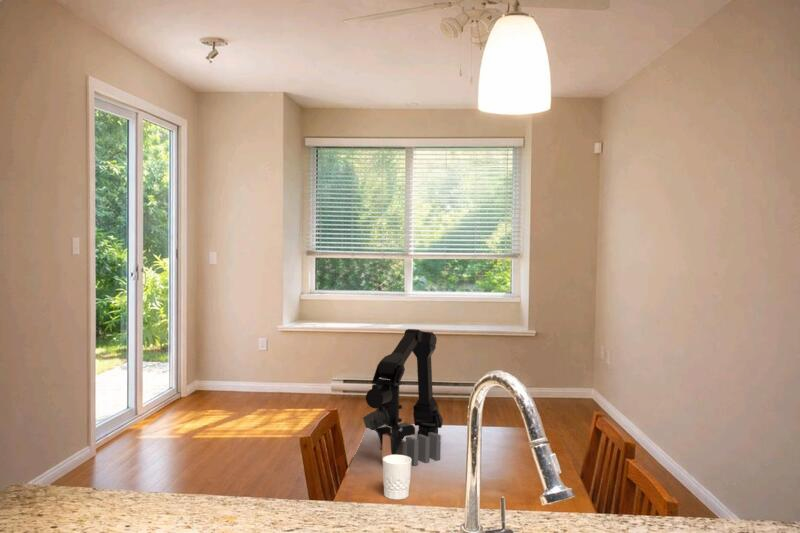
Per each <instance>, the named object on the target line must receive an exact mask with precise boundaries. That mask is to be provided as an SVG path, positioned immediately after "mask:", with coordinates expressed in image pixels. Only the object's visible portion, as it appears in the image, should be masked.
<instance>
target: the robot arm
mask: <svg viewBox="0 0 800 533" xmlns="http://www.w3.org/2000/svg"><path fill="white" fill-rule="evenodd" d="M437 340H438V339H437V336H436V334H435V333H434V332H432V331H423V330H420V329H416V328H407V329H405V331H404V335H403V336H402V337H401V339H400V340H399V342H398V344H397V345H396V347H395V348H394V350H393V351H392V352H391V353H390V354H388V355H384V357H383V358H382V359H381V360H380V361H379V362H378V364H377V366H376V368H375V372H374V375H373V378H372V380H371V383H372V385H371V389H369V390H368V391H367V392H366V394H365V401H366V404H367V406H369V407H370V408H372V409H376V410H373V411H372V412H370V413H369V414H366V415H365V416H364V417H362V418H363V423H364V426H365V429H369V430H371V431H375V432H376V433H377V436H378V440H379V442H380V447H381V446H382V445H383V434H387V435H388V436H389V437H390V440H391V453H392V455H393V454H395V453H396V451H397V449H398V447H399V445H400V443H401V441H402V440H404V438H405V437H409V436H413V435H416V427H415V426H418V429H417V435H419V434H422V435H425V436H427V437H428V433H430V432H433V433H436V434H439V429H441V428H442V427H443V424H444V422H443V421H444V420H443V417H442V415H441V413H440V411H439V406H438V402H437V401H436V400H435V399H434V396H433V375H432V374H433V372H432V355H433V354H434V352H435V350H436V346H437ZM412 353H413V355H414V356H415V358H416V362H417V363H416V365H417V366H416V368H417V370H416V372H417V389H418V390H417V391H418V392H417V393H418V394H417V395H418V400H416V403H415V404H414V405H413V412H412V414H413V415H412V416H413V417H412V418H413V422H414V425H413V424H412V423H408V422H403V421H402V419H403V418H401V417H400V410H401V409H403V405H402V404H400V386H401V385H402V383H403V382H402V381H401V380H402V378H403V376H404V373H405V372H406V369H405V363H406V362H407V360H408V358H409V357H410V355H411V354H412ZM401 422H402V423H401ZM391 429H392V433H390V431H391Z"/></svg>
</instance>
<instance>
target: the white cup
mask: <svg viewBox="0 0 800 533" xmlns="http://www.w3.org/2000/svg"><path fill="white" fill-rule="evenodd" d="M411 461H412V459H411V458H410V457H408V456H404V455H388V456H385V457H384V458H383V460H382V477H383V478H382V480H383V484H382V485H383V495H384V497H385V498H387V499H389V500H403V499H404V500H405V499H406V498H409V495H410V485H411V476H412V475H411V474H412V465H411Z"/></svg>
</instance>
